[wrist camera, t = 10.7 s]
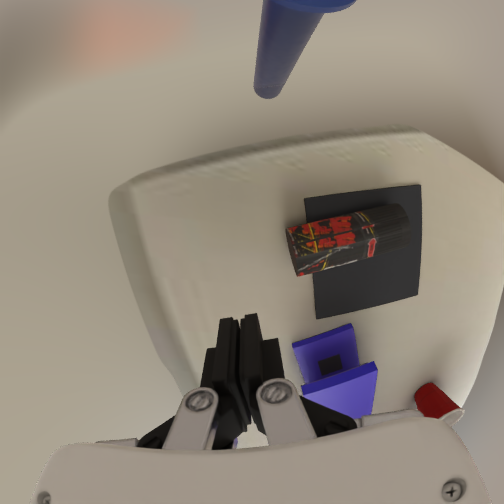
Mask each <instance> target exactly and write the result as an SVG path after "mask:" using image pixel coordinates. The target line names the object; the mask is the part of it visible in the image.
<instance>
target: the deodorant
mask: <svg viewBox="0 0 504 504" xmlns="http://www.w3.org/2000/svg"><path fill="white" fill-rule="evenodd" d="M286 237H287V242H288V247H289V251H290V255H291V259H292V263H293V266H294V270H295V272H296V275H297V277H298V276H302V275H306V274H310V273H314V272H318V271H321V270H325V269H329V268H333V267H337V266H340V265H344V264H348V263H352V262H355V261H359V260H363V259H366V258H370V257H373V256H377V255H380V254H384V253H387V252H391V251H394V250H398V249H401V248H405V247H407V246H408V245H409V243H410V240H411V226H410V221H409V218H408V216H407V214H406V212H405V210H404V209H403V207H402V206H401V205H400V204H397V203H394V204H389V205H385V206H381V207H376V208H372V209H367V210H363V211H359V212H354V213H350V214H346V215H341V216H337V217H333V218H329V219H324V220H320V221H316V222H312V223H308V224H303V225H299V226H295V227H291V228H287V229H286Z"/></svg>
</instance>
